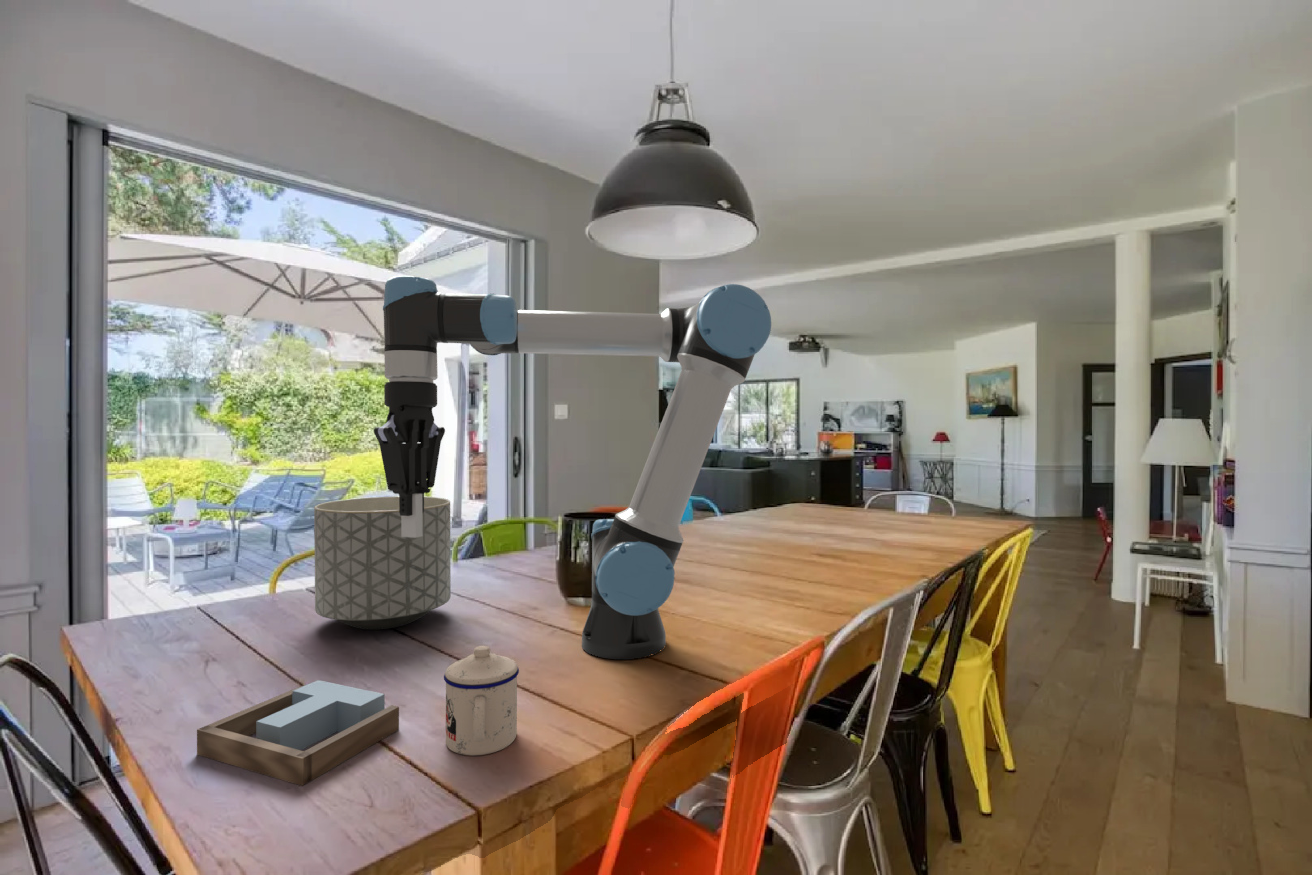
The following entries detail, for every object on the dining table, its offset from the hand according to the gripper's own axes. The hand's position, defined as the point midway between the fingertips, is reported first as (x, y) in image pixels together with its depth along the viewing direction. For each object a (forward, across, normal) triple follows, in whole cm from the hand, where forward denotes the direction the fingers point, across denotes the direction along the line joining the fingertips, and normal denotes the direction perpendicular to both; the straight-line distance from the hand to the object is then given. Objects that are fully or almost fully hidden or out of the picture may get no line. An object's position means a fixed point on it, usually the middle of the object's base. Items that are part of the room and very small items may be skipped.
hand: (412, 536), depth 98 cm
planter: (+23, -23, -27) cm, 42 cm away
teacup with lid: (+23, +12, +21) cm, 33 cm away
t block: (+23, +18, 0) cm, 29 cm away
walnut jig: (+23, +20, 0) cm, 30 cm away
